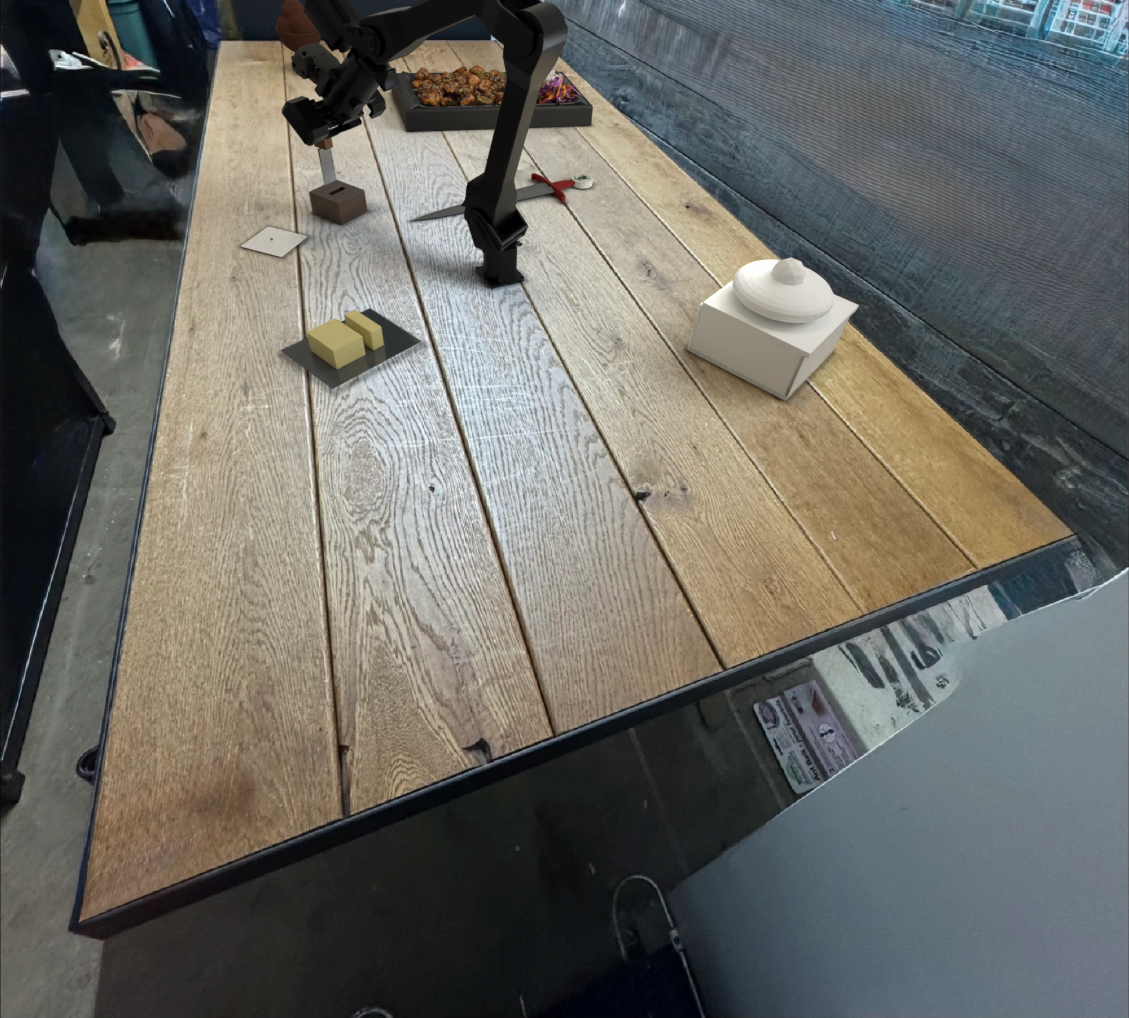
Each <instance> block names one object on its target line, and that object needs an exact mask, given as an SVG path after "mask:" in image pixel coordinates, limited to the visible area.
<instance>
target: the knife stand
mask: <svg viewBox="0 0 1129 1018" xmlns="http://www.w3.org/2000/svg"><path fill="white" fill-rule="evenodd" d="M308 196H309V200H310V201H309V202H310V205H311V209H312V214H314V215H317V216H318V217H321V218H324V219H326V220H329V221H330V222H334V223H336V224H338V225H340V226H343V225H344V224H346V223H349V222H350V221H352V220H354V219H356V218H358V217H360V216H362V215H363V214H365V213H367V212H368V205H367V199H366V191H365V189H363V188H360V187H358V186H355V185H352V184H350V183H347V182H345V181H342V180H339V179H337V180H336V181H334V182H332V183H330V184H328V185H324V184H323V185H320V186H318V187H316V188H314V189H312V190H309V191H308Z"/></svg>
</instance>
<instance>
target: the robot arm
mask: <svg viewBox="0 0 1129 1018" xmlns="http://www.w3.org/2000/svg"><path fill="white" fill-rule="evenodd" d="M303 11H304V13H305V14H306V16H307V17H308V19H309V20H310V22H311V23H312V24H313V26H314V27H315V29H316V30H317V32H318V33H319V34H320V36H321V39H322V40H323V42H324V43H325V45H326V46H327V47H328V49H329V50H330V51H329V50H328V49H327V48H326V47H325V46H324V45H323V44H321V43H311V44H307V45H304V46H301V47H299V50H296V51H295V52H294V54H292V55H291V58H290V60H291V68H292V71H293V72H295V74H297V75H298V77H300V78H301V79H302V80H307V79H308V80H309V81H310V82H312V84H314V85H315V87H314V88H313V90H314V92H315V94H316V95H317V96H318V97H319V98H322V99H320V100H318V101H316V99H314V98H312V99H310V98H309V97H307V96H304V95H299V96H298V97H295V98H292V99H289V100H286V101H285V103H284V104H283V106H282V108H281V114H282V116H283V117H284V118H285V120H286V121H287V122H288V124H289V125H290V126H291V128H292V129H293V131H294V132H295V133H296V135H297V136H298V137H299V138H300V140H301V141H302V143H303V144H304V145H306V146H308V147H312V146H314V144H316V143H319V142H321V141H322V140H325V139H329V138H332V139H333V138H334V137H336V136H339V134H341V133H344V132H347V131H350V130H352V129H354V128H356V127H359V126H361V125H362V124H363V119H361V118H362V117H363V116H364V115H365V112H364V107H365V106H367V107H368V110H370V111H369V113H368V116H369V118H370V119H371V120H373V119H376V118H378V117H380V116H382V115H383V114H384V113H385V111H386V110H387V104H386V103H387V102H386V99H385V98H384V97H383V95H382V93H381V92H380V90H379V89H381V91H382V92H384V93H386V92H389V91H391V89H394V88H396V87H398V86H399V79H398V77H397V74H396V73H397V69H396V67H393V66H391V64H390V62H391V63H392V62H393V61H396V60H399V59H402V58H404V57H408V56H409V55H411V54H412V53H413V52H414V51H416V50H417V49H419V48H420V47H421V46H422V45H423V44H424V42H425V41H426V40H427V39H428V38H429V37H431V36H433V35H434V34H437V33H439V32H441V31H444V30H446V29H448V28H451V27H453V26H455V25H458V24H460V23H462V22H464V21H466V20H469V19H471V18H473V17H477V18H478V19H480V21H481V22H482V24H483V25H484V26H485V27H486V29H487V31H488V32H489V34H490V35H491V36H492V37H493V39H495V40H496V41H497V42H498V43H500V44H501V45H503V48H502V61H503V64H504V65H503V66H504V70H505V71H504V72H506V84H505V88H504V92H503V96H502V100H501V104H500V108H499V113H498V117H497V121H496V125H495V129H493V133H492V138H491V141H490V146H489V150H488V153H487V159H486V163H485V167H484V171H483V172H482V173H480V174H479V175H477V176H476V177H474V178H472V179H471V180H469V181H467V183H466V186H465V196H464V200H463V201H462V202H461V203H460V204H461V206H462V207H465V208H464V212H463V219H464V221H465V222H466V223H467V228H468V230H469V233H470V236H471V239H472V243H473V246H474V248H476V249H479V250H480V251H481V252H482V265H478V266H475V271H476V272H477V274H478V275H479V276H480V278H482V280H484V282H485V284H487V285H488V287H490V288H491V289H492V288H497V287H503V286H506V285H511V284H515V283H520V282H524V281H525V276H524V275H523V274H522V273H521V272H520V271H519V269H518V240H520V239H521V238H522V237H524V236H526V234H527V231H528V230H529V229H528V228H529V224H528V223H527V221H526V219H525V218H524V216H523V215H522V213H521V212H520V209H518V207H517V201H518V200H517V191H516V189H517V186H516V183H515V179H516V174H517V171H518V167H519V164H520V160H521V157H522V153H523V151H524V146H525V144H526V143H525V142H526V139H527V135H528V132H529V129H530V128H529V125H530V122H531V118H532V115H533V111H534V108H535V104H536V101H537V97H538V94H539V90H540V88H541V85H542V84H543V82H544V81H545V79H546V78H547V76H548V75H549V73H550V72H551V70H553V69H554V67H555V66H556V64H557V62H558V60H559V58H560V56H561V54H562V53H563V50H564V47H565V45H566V43H567V40H568V35H569V26H568V24H567V22H566V19H565V16H564V14H563V13H562V11H561V9H560V8H559V7H558V6H557V5H556V4H555V3H552V2H549V1H542V0H423V1H421V2H418V3H416V4H415V5H412V6H411V5H410V6H409V5H408V6H402V7H396V8H391V9H388V10H383V11H380V12H377V13H374V14H373V13H372V14H369V15H366V16H362V17H360V16H359V15H358V13H357V11H355V9H354V8H353V6H352V5H351V3H350V1H349V0H306V1H305V2H304V5H303ZM335 51H338V52H339V53H340V54H343V53H344V54H345V53H347V54H346V55H345V57H344V59H343V61H342V62H341V61H340V60H339V58H338V57H337V56H335V55H334V54H333V52H335Z"/></svg>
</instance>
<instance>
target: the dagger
mask: <svg viewBox="0 0 1129 1018" xmlns="http://www.w3.org/2000/svg"><path fill="white" fill-rule="evenodd" d="M530 180H531V181H535V182H537V183H534V184H531V185H527V186H524V187H519V188H516V191H517V201H520V200H525V199H530V198H535V197H540V196H544V195H548V194H551V195H553V196H555V197H556V198H558V199H559V200H561V203H562V204H565V203H566V199H567V198H566V194H565V193H564V191H563V189H568V188H570V187H573V188H576V189H581V190H582V189H589V188H591V187H592V186H593V182H594V177H593V176H592V175H591V174H589V173H586V172H575V173H571V175H570V179H562V180H556V181H552V182H551V181H550V180H548V179H547V178H546V177H544V176H543V175H540V174H538V173H536V172H532V173H531V174H530ZM461 204H462V203H460V204H455V205H453V206H450V207H446V208H442V209H439V210H436V211H433V212H430V213H427V214H424V215H421V216H420V217H419V216H418V217H416V218H413V219H411V220H410V222H413V221H421V220H428V219H429V220H430V219H434V218H441V217H446V216H451V215H452V216H453V215H457V214H462V213H464V208H465V207H462V206H461Z"/></svg>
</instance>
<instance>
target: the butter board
mask: <svg viewBox="0 0 1129 1018" xmlns="http://www.w3.org/2000/svg"><path fill="white" fill-rule="evenodd" d="M359 312H360V311H359ZM360 313H361V314H363V315H364V316H366V317H367V318H369V319H370V320H372V321H373V322H375V323H376V324H378V325H379V326H381V329H382V335H383V342H384V345H383V346H381V347H379V348H377V349H375V350H372V349H371V348H369V347H368V346H366V345H365V344H364V349H365V355H364V356H362V357H360V358H358V359H356V360H354V361H352V362H350V363H348V364H347V365H345V366H343V367H341V368H339V369H336V368H334V367H333V366H332V365H330V364H329V363H327V362H326V361H325V360H323V359H322V358H320V357H319V356H318V355H316V354H315V353H314V352H312V351H311V349H310V345H309V341H308V337H306V338H304V339H302V340H299V341H297V342H295V343H293V344H291V345H289V346H287V347H284V348H282V349H280V352H281V353H283V354H284V355H286V356H287V357H288V358H290V359H291V360H292V361H294V362H295V363H297V364H298V365H299V366H301V368H303V369H304V370H306V371H307V372H308V373H310V374H311V375H313V376H314V377H315V378H317V379H318V380H320V381H321V382H322V383H323V384H325V385H326V386H328V387H329V388H330V389H332V390H335V389H336V388H338V387H339V386H341V385H344V384H345V383H347V382H349V381H351V380H353V379H354V378H357V377H358V376H360V375H362V374H364V373H366V372H368V371H370V370H372V369H373V368H375V367H377V366H379V365H380V364H383V363H384V362H387V361H389V360H390V359H392V358H394V357H396V356H397V355H400V354H401V353H403V352H405V351H407V350H409V349H411V348H412V347H415V346H416V345H418V344H420V343H422V340H420V339H419V338H417V336H414V335H413V334H411V333H409V332H408V331H406V330H405V329H403V328H402V327H400V326H399V325H398V324H396V323H394V322H392V321H391V320H389V319H388V318H386V317H384V316H383V315H382V314H380V313H378V311H375V310H374V309H372V308H370V307H369V308H367V309H365V310H362V311H361V312H360ZM340 322H342V323H343V324H345V325H346V322H345V319H344V320H340Z"/></svg>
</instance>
